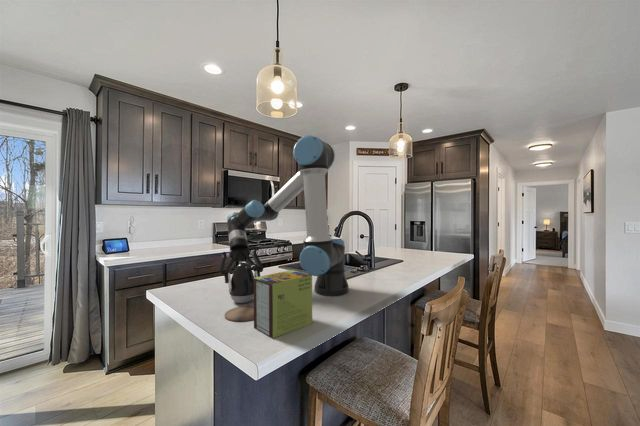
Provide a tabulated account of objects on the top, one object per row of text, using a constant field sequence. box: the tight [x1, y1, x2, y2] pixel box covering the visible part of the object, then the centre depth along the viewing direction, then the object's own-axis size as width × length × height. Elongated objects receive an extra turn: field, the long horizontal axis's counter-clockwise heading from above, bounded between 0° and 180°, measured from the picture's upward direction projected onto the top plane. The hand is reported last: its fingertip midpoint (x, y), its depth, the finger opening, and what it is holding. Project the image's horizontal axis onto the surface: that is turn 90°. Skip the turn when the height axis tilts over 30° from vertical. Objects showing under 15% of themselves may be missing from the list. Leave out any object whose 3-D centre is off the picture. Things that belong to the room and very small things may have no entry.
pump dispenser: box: [228, 262, 257, 304], centre depth 109 cm, size 10×10×15 cm
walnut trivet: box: [224, 305, 254, 323], centre depth 95 cm, size 13×13×1 cm
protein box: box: [253, 269, 313, 339], centre depth 86 cm, size 10×15×16 cm
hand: (244, 288), depth 106 cm, fingers closed on pump dispenser, 10 cm apart
